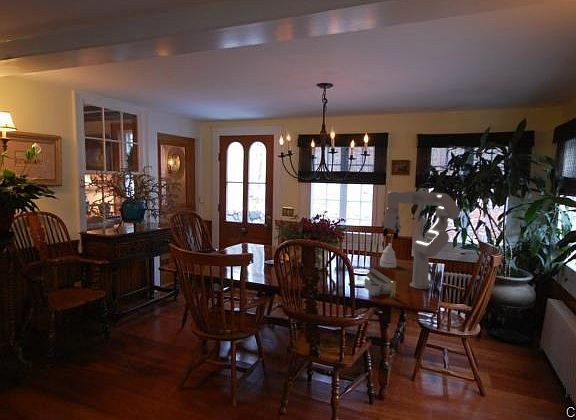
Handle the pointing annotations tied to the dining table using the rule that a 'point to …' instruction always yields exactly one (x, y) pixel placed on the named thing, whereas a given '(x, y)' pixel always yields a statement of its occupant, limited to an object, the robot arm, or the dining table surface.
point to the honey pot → (388, 258)
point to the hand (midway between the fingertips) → (390, 237)
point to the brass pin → (393, 289)
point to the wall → (377, 277)
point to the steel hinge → (376, 288)
